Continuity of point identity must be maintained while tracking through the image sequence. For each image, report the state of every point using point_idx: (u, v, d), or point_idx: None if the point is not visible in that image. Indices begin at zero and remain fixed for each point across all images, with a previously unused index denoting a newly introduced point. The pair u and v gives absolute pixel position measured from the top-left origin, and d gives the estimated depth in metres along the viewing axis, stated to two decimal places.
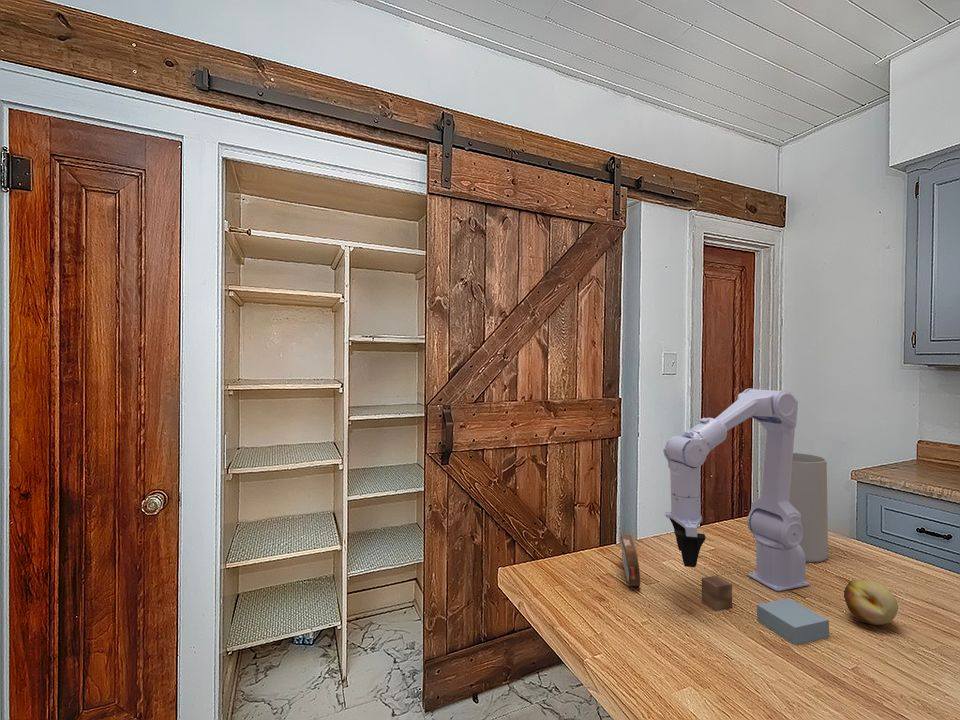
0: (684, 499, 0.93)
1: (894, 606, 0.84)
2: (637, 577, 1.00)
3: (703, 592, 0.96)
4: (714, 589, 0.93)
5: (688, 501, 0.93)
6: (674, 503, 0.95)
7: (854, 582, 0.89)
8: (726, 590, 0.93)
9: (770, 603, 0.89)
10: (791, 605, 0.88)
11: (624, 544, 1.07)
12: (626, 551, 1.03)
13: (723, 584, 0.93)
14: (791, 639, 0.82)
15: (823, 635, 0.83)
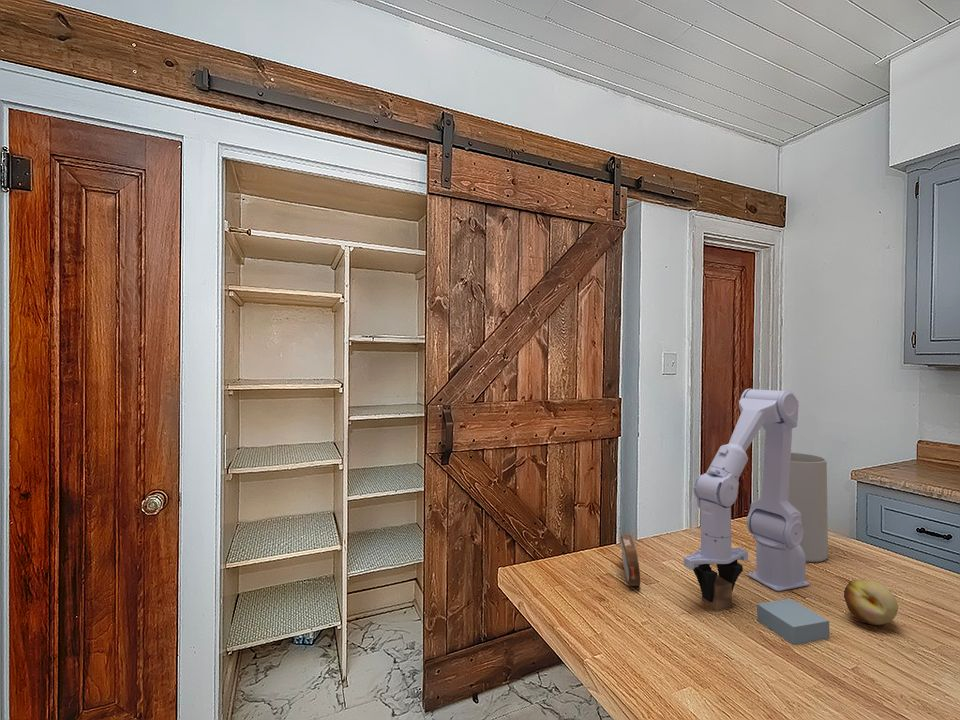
0: (702, 535, 0.94)
1: (894, 606, 0.84)
2: (637, 577, 1.00)
3: None
4: (714, 589, 0.93)
5: (704, 537, 0.94)
6: None
7: (854, 582, 0.89)
8: (726, 590, 0.93)
9: (770, 603, 0.89)
10: (792, 605, 0.88)
11: (624, 544, 1.07)
12: (626, 551, 1.03)
13: (723, 584, 0.93)
14: (789, 639, 0.82)
15: (823, 636, 0.83)
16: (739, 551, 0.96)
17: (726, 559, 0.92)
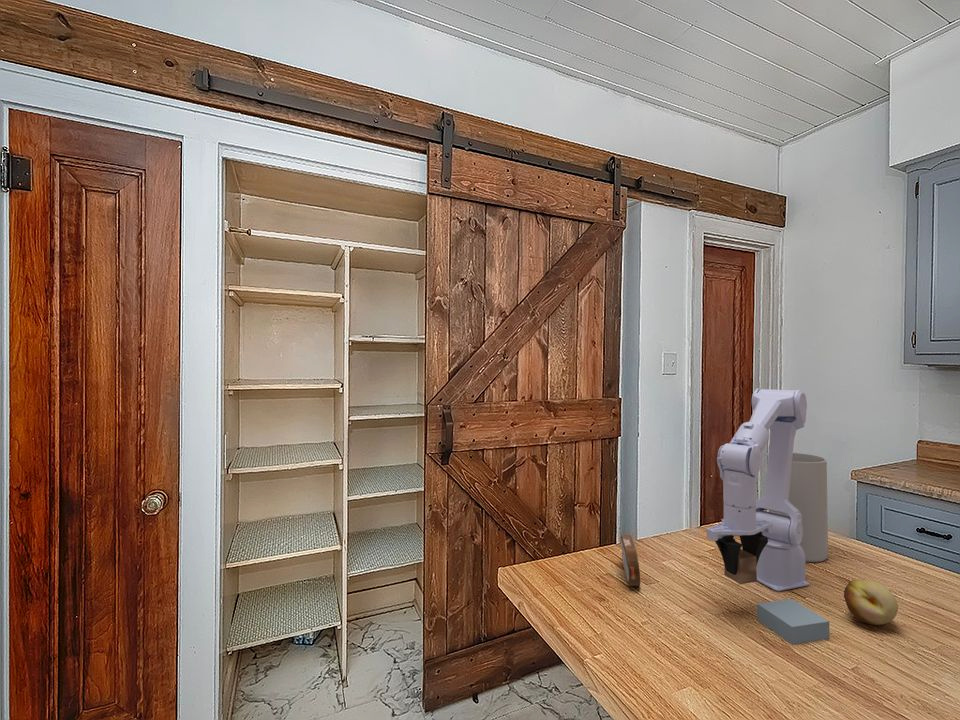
0: (725, 506, 0.92)
1: (894, 606, 0.84)
2: (637, 577, 1.00)
3: None
4: (738, 561, 0.90)
5: (728, 508, 0.91)
6: None
7: (854, 582, 0.89)
8: (750, 562, 0.90)
9: (771, 603, 0.89)
10: (792, 605, 0.88)
11: (624, 544, 1.07)
12: (626, 551, 1.03)
13: (747, 556, 0.90)
14: (788, 638, 0.82)
15: (823, 636, 0.83)
16: (764, 523, 0.93)
17: (751, 530, 0.89)
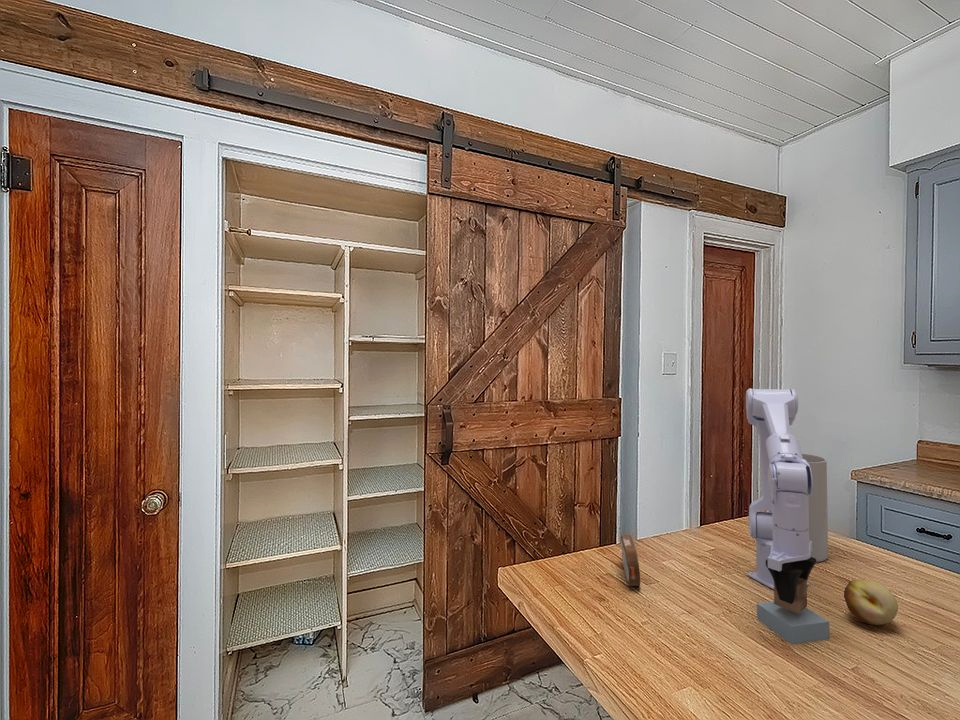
0: (780, 530, 0.85)
1: (894, 606, 0.84)
2: (637, 577, 1.00)
3: (776, 593, 0.86)
4: None
5: (784, 532, 0.84)
6: (773, 533, 0.87)
7: (854, 582, 0.89)
8: (803, 587, 0.85)
9: (771, 602, 0.89)
10: None
11: (624, 544, 1.07)
12: (626, 551, 1.03)
13: (800, 582, 0.85)
14: (787, 638, 0.82)
15: (822, 636, 0.82)
16: None
17: (808, 554, 0.83)
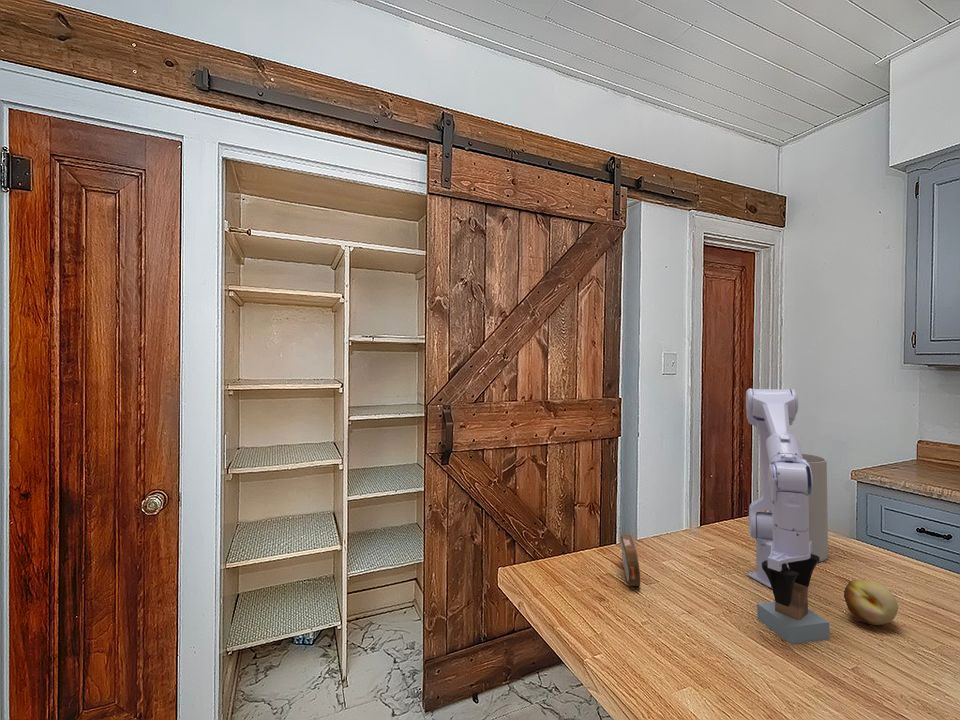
0: (780, 530, 0.85)
1: (894, 606, 0.84)
2: (637, 577, 1.00)
3: None
4: (797, 596, 0.84)
5: (784, 532, 0.84)
6: (773, 533, 0.87)
7: (854, 582, 0.89)
8: (804, 594, 0.85)
9: (771, 603, 0.89)
10: None
11: (624, 544, 1.07)
12: (626, 551, 1.03)
13: (801, 589, 0.85)
14: (787, 638, 0.82)
15: (822, 637, 0.82)
16: None
17: (808, 554, 0.83)
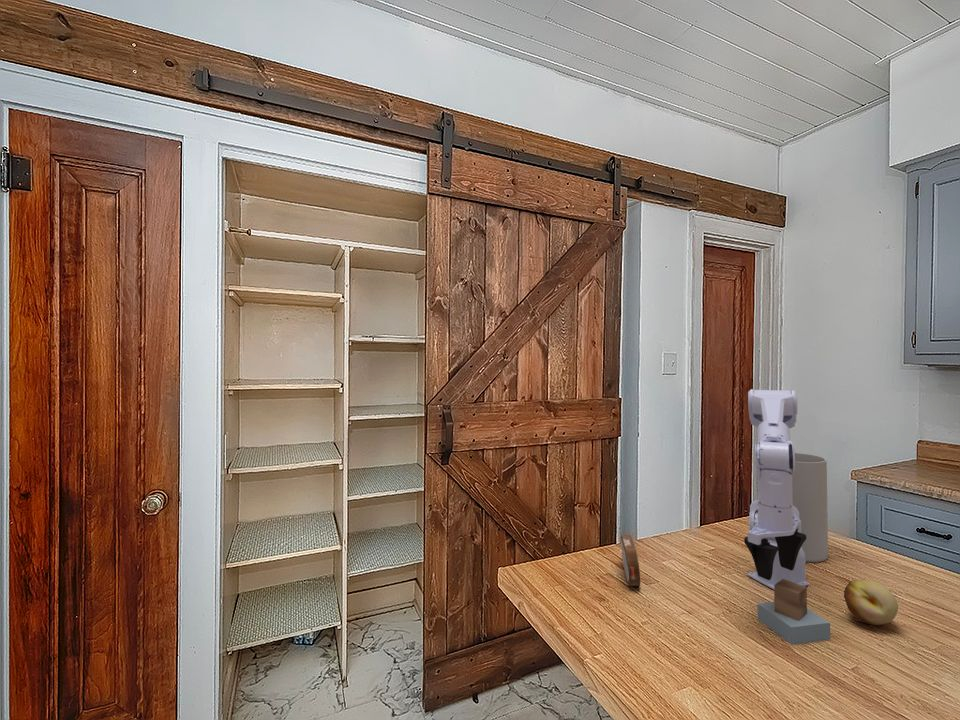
0: (763, 506, 0.88)
1: (894, 606, 0.84)
2: (637, 577, 1.00)
3: (777, 600, 0.86)
4: (796, 596, 0.83)
5: (766, 509, 0.87)
6: (757, 510, 0.90)
7: (854, 582, 0.89)
8: (803, 595, 0.85)
9: (772, 603, 0.89)
10: None
11: (624, 544, 1.07)
12: (626, 551, 1.03)
13: (800, 589, 0.85)
14: (787, 639, 0.82)
15: (823, 637, 0.82)
16: (793, 521, 0.91)
17: (790, 530, 0.86)
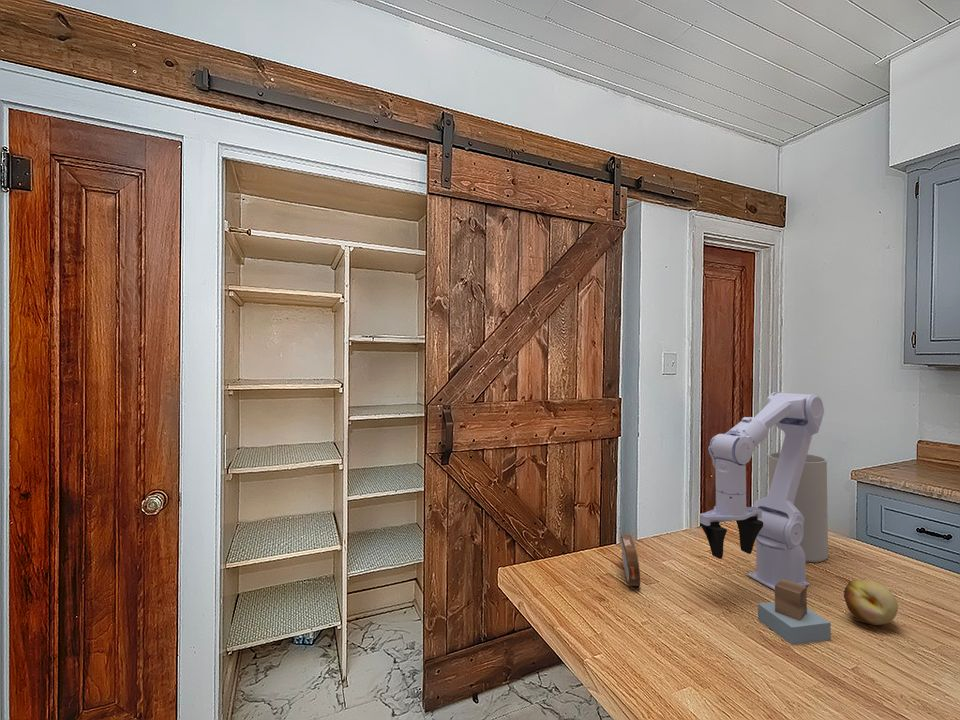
0: (717, 493, 0.97)
1: (894, 606, 0.84)
2: (637, 577, 1.00)
3: (777, 601, 0.86)
4: (797, 596, 0.83)
5: (720, 495, 0.96)
6: None
7: (854, 582, 0.89)
8: (804, 594, 0.85)
9: (772, 603, 0.89)
10: None
11: (624, 544, 1.07)
12: (626, 551, 1.03)
13: (801, 589, 0.85)
14: (788, 639, 0.82)
15: (824, 637, 0.82)
16: (754, 509, 0.98)
17: (741, 515, 0.94)
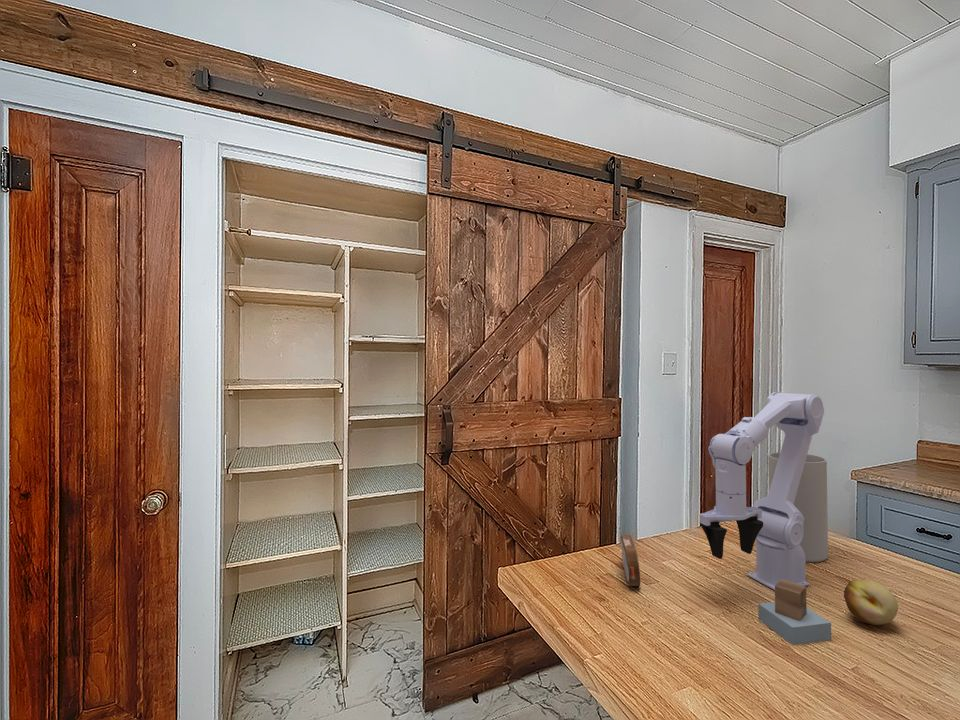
0: (717, 493, 0.97)
1: (894, 606, 0.84)
2: (637, 577, 1.00)
3: (778, 601, 0.86)
4: (797, 596, 0.83)
5: (720, 495, 0.96)
6: None
7: (854, 582, 0.89)
8: (804, 594, 0.85)
9: (773, 603, 0.89)
10: None
11: (624, 544, 1.07)
12: (626, 551, 1.03)
13: (800, 589, 0.85)
14: (788, 639, 0.82)
15: (824, 637, 0.82)
16: (754, 509, 0.98)
17: (741, 515, 0.94)
